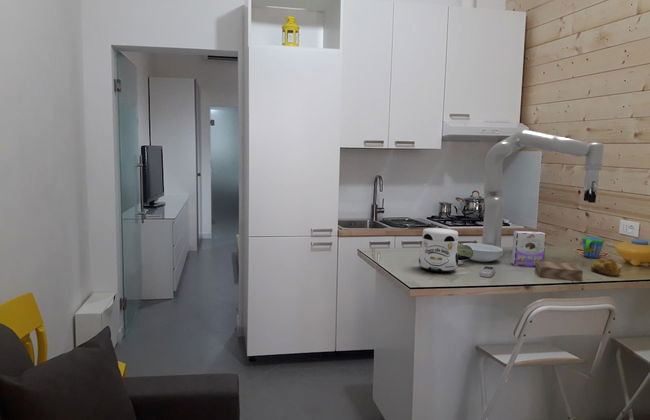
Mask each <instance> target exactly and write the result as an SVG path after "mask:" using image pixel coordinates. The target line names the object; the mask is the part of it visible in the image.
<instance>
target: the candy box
mask: <svg viewBox="0 0 650 420" xmlns="http://www.w3.org/2000/svg"><path fill="white" fill-rule="evenodd" d="M512 237H513V238H512V239H513V240H512V252H511V265H513V266H515V267H517V266H518V267H534V268H536V261H545V253H546V252H545V251H546V239H547V233H545V232H543V231H530V230H529V231H525V230H524V231H521V230H514V231H513V236H512Z"/></svg>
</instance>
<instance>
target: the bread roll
mask: <svg viewBox="0 0 650 420" xmlns="http://www.w3.org/2000/svg"><path fill="white" fill-rule="evenodd" d="M590 269H591V270H592V271H593V272H595V273H599V274H601V275H604V276H610V277H613V276H614V277H616V276H618V275H620V274H621V273H622V272H621V271H622V266H621V265H620V263H618V262H617V261H616V260H615V259H611V258H610V259H609V258H608V259H607V258H603V257H601V258H600V257H599V258H596V259H595V261H594V262H593V263H592V264H591V266H590Z"/></svg>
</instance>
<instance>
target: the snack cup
mask: <svg viewBox="0 0 650 420" xmlns="http://www.w3.org/2000/svg"><path fill="white" fill-rule="evenodd" d="M581 240H582V248H583V249H582V250H583V251H582V252H583V256H584V257H586V258H590V259H591V258H592V259H600V257H601V252H602V249H603V245H604V243H605V239H603V238H600V237H599V238H598V237H591V236H585V237H584V236H583V237H582V238H581Z"/></svg>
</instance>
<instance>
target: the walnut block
mask: <svg viewBox="0 0 650 420" xmlns="http://www.w3.org/2000/svg"><path fill="white" fill-rule="evenodd" d="M534 268H535V269H534V270H535V272H536V274H537V275H538V277H539V278H545V279H556V280H564V281H575V282H582V281H583V272H584V271H583V270H582V269H581V267H580V266H579V265H578V264H577V263H566V262H556V261H555V262H554V261H546V260H544V261H536V267H534Z"/></svg>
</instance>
